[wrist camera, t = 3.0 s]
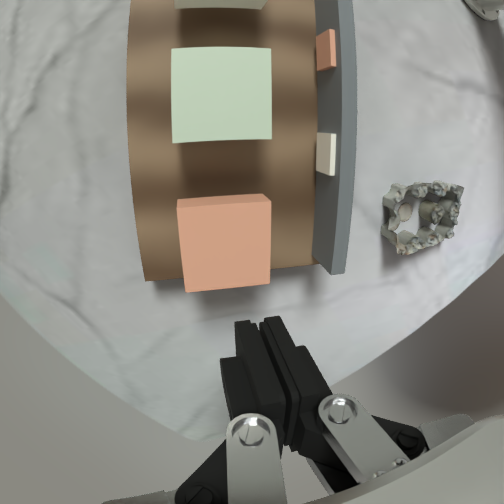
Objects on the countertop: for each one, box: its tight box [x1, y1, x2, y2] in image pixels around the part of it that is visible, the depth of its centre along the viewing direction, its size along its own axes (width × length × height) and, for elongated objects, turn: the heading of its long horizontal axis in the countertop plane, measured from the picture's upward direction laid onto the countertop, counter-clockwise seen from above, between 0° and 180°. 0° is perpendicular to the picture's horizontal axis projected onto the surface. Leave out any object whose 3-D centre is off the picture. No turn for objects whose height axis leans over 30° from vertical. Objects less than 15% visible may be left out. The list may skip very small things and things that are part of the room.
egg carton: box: [381, 181, 464, 255], centre depth 29 cm, size 11×8×4 cm
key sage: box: [171, 47, 272, 143], centre depth 17 cm, size 6×6×2 cm
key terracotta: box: [177, 194, 271, 292], centre depth 21 cm, size 6×6×2 cm
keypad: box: [127, 0, 357, 281], centre depth 19 cm, size 28×16×7 cm, turn 1°
